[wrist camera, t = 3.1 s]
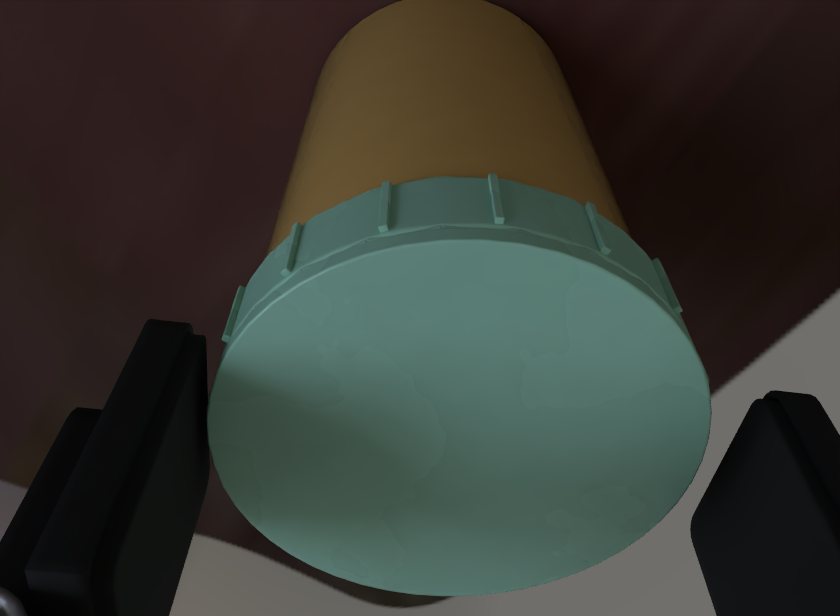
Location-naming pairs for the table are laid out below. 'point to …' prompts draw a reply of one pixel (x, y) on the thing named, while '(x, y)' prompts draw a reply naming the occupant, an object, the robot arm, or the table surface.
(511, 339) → the lid
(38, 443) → the table surface
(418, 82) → the jam jar
